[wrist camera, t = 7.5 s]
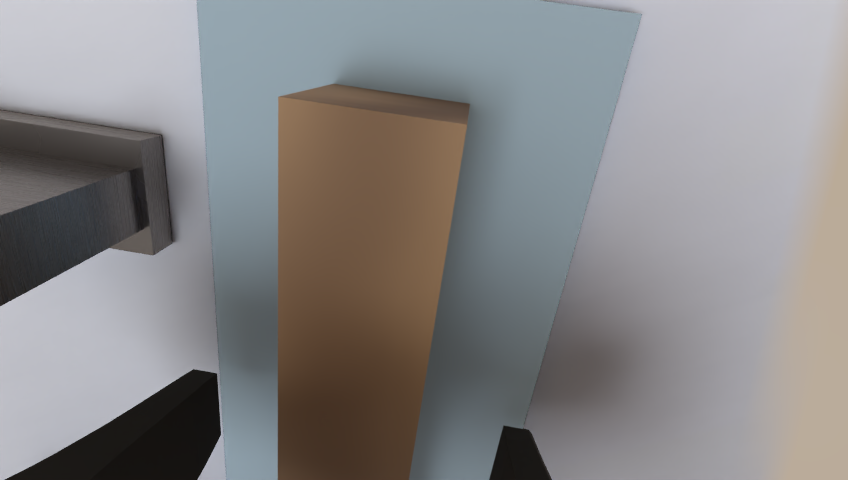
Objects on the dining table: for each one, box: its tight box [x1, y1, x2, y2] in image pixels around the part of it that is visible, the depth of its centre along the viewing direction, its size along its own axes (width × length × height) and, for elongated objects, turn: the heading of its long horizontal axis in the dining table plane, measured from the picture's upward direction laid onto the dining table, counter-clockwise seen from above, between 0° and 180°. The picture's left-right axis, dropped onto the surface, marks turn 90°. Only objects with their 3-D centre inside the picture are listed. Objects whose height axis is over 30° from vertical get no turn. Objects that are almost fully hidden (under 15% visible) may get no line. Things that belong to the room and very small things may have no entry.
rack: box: [0, 110, 172, 306], centre depth 12 cm, size 6×16×5 cm, turn 173°
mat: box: [197, 0, 642, 480], centre depth 13 cm, size 9×20×1 cm, turn 173°
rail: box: [278, 84, 470, 480], centre depth 12 cm, size 3×16×3 cm, turn 173°
